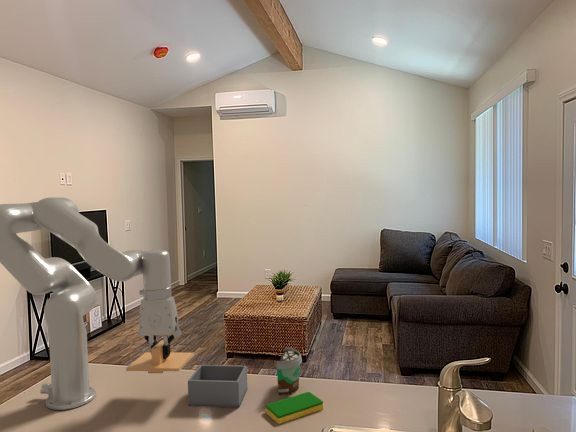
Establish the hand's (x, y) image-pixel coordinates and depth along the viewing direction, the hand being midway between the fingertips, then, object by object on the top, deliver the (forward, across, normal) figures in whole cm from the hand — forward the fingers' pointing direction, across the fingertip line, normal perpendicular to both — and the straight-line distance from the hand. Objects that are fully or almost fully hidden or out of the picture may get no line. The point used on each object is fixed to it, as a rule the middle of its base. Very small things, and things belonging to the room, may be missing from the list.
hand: (161, 357), depth 123 cm
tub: (+11, +16, 0) cm, 20 cm away
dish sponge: (+12, +38, -6) cm, 41 cm away
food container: (+12, +36, +7) cm, 39 cm away
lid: (+3, 0, 0) cm, 3 cm away
